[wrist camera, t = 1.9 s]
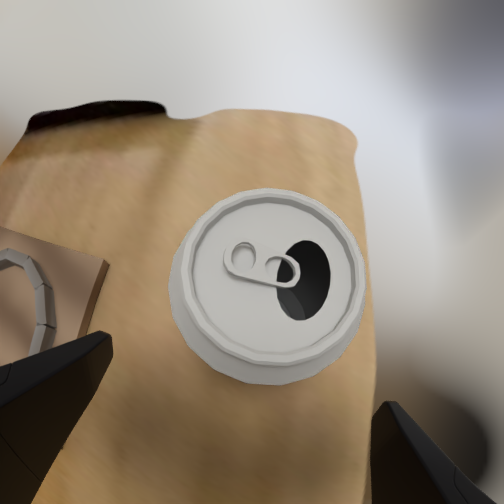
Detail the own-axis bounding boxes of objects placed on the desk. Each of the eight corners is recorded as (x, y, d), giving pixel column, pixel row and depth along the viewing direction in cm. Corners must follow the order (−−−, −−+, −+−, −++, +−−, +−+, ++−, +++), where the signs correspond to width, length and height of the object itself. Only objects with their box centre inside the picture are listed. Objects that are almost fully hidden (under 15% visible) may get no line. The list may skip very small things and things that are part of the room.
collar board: (62, 449, 14) (44, 454, 12) (-43, 366, 15) (-60, 362, 12) (109, 264, 21) (96, 250, 18) (-1, 229, 21) (-15, 216, 19)
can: (291, 391, 18) (370, 403, 7) (185, 365, 18) (124, 346, 7) (312, 292, 21) (387, 200, 10) (214, 267, 22) (201, 153, 11)
